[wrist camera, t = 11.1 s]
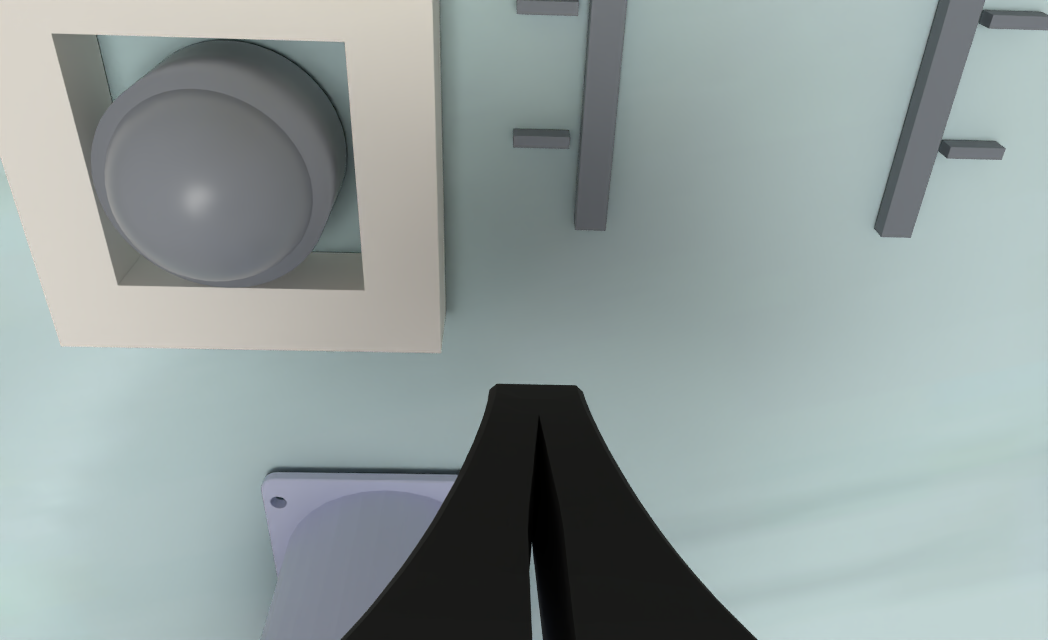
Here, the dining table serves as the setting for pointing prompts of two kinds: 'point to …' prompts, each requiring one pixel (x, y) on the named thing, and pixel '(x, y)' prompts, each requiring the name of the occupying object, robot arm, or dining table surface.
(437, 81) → the housing
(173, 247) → the dome
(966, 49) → the track
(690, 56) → the dining table surface
